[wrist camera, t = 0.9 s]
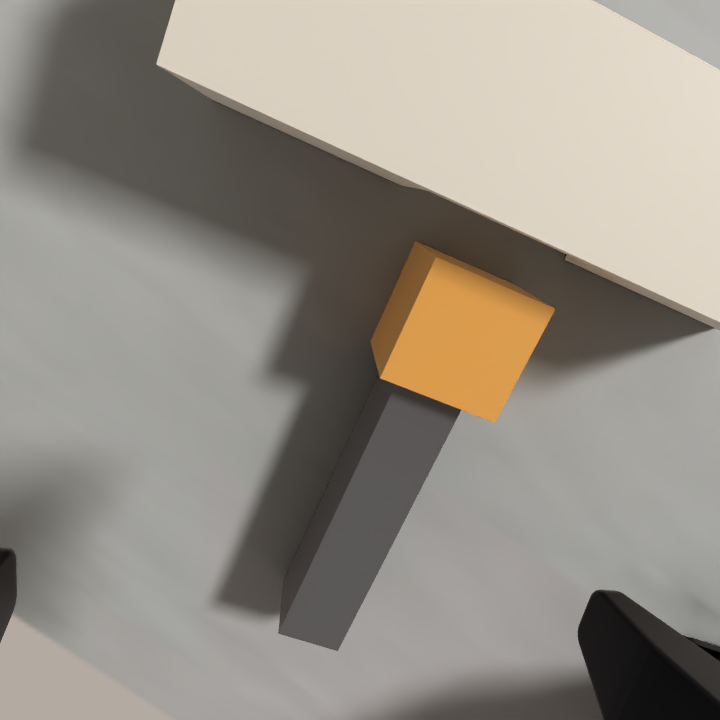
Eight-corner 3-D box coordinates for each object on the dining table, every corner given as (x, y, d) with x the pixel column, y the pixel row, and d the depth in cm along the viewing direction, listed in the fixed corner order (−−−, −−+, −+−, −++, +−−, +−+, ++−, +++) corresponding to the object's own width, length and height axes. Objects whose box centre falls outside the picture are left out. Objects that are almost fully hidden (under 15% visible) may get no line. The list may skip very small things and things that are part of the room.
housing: (716, 328, 22) (864, 388, 16) (210, 99, 19) (156, 64, 13) (793, 203, 21) (986, 217, 15) (265, -69, 17) (234, -198, 11)
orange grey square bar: (353, 601, 25) (358, 678, 21) (265, 573, 24) (255, 648, 21) (514, 284, 21) (555, 308, 17) (415, 240, 20) (435, 256, 17)
